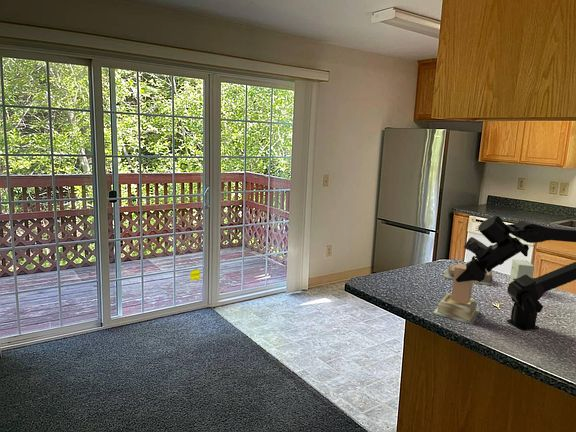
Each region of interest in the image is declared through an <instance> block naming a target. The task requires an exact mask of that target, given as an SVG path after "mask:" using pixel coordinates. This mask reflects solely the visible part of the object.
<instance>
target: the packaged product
mask: <svg viewBox="0 0 576 432" xmlns="http://www.w3.org/2000/svg"><path fill="white" fill-rule="evenodd" d="M456 265H457V264H449V265H448V269H447V268H446V269H445V271H444V275H443V278H445V279H446V280H451V281H453V279H454V270H455V267H456ZM486 271H487V270H486ZM493 281H494V279H493V272H492V270H491V271H490V272H488V271H487V276H486V278H485V279H484V280H482V281H480V282H478V281H477V280H473V284H475V285H476V284H477V285H482V286H483V285H484V286H490V287H492V286H493Z"/></svg>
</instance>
